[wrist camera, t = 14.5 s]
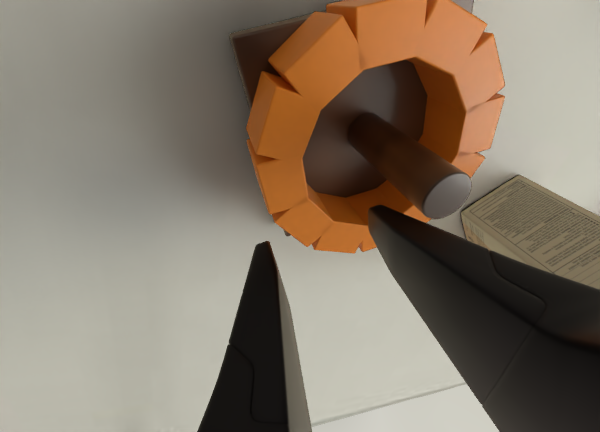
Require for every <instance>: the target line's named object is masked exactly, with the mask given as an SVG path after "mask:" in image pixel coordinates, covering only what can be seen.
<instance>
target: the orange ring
mask: <svg viewBox="0 0 600 432" xmlns="http://www.w3.org/2000/svg"><path fill="white" fill-rule="evenodd" d="M326 12H327V13H324V12H317V11H315V12H313V13H312V15H311V16H310V17H309V18H308V19H307V20H306V21H305V22H304V23H303V24H302V25H301V26H300V27H299V28H298V29H297V30H296V31H295V32H294V33H293V34H292V35H291V36H290V37H289V38H288V39H287V40H286V41H285V42H284V43H283V44H282V45H281V46H280V47H279V48H278V50H277V51H276V52H275V53H274V54H273V55H272V56H271V57H270V58H269V59H268V61H269V63H270V64H271V65H272V66H273V67H274V69H275V70H276V71H277V72H278V74H279V75H280V76H281V77H279V76H276V75H273V74H270V73H268V72H265V71H262V72H261V75H260V78H259V82H258V86H257V90H256V93H255V97H254V101H253V105H252V108H251V112H250V116H249V119H248V123H247V127H246V130H247V132H248V135H249V137H250V139H247V145H248V149H249V152H250V156H251V159H252V163H253V166H254V169H255V173H256V176H257V180H258V183H259V186H260V189H261V192H262V195H263V198H264V201H265V204H266V207H267V210H268V213H269V214H272V217H273V219H274V222H275V223H276V224H277V225H279V226H280V227H281V228H283V229H284V230H285V231H287V232H288V233H289V234H291V235H292V236H293V237H295V238H296V239H297V240H298V241H300V242H301V243H302V244H304V245H305V246H306V247H308V246H309V245H311V244H312V246H313V248H314V250H322V251H334V252H345V253H355V252H356V250H357V248H358V247H359V248H360V249H361V251H362V252H364V251H367V250H370V249H373V248H376V247H377V246H376V244H375V242H374V240H373V238H372V236H371V235H370V232H369V229H368V209H369V208H370V207H373V206H376V205H384V206H386V207H388V208H391V209H393V210H396V211H398V212H400V213H403V214H405V215H408V216H410V217H413V218H415V219H417V220H420V221H422V222H425V223H427V222H428V221H429V220H431V218H428V217H426V216H425V215H424V214H423V213H422V212H420V211H419V210H418V209H417V208H416V207H415V206H414V205H413V204H412V203H411V202H410V201H409V200H408V199H407V198H406V197H405V196H404V195H403V194H402V193H401V192H400V191H399V190H398V189H396V188H395V187H394V186H393V185H392V184H391V183H390V182H389V181H388V180H386V181H385V182H384V183H383V184H381V185H380V186H379V187H378V188H376V189H373V190H370V191H366V192H363V193H360V194H356V195H353V196H350V197H347V198H344V197H339V196H333V195H328V194H323V193H317V192H315V191H314V190H313V189H312V188H311V187H310V186H309V185H308V184H307V183H306V177H305V171H304V165H303V159H302V158H303V155H304V153H305V150H306V148H307V145H308V142H309V140H310V137H311V135H312V132H313V129H314V127H315V124H316V122H317V119H318V116H319V114H320V111H321V109H323V108H324V107H325V106H326V105H327V104H328V103H329V102H330V101H331V100H332V99H333V98H334V97H335V96H337V95H338V94H339V93H340V92H341V91H342V90H343V89H344V88H345V87H346V86H347V85H348V84H349V83H350V82H352V81H353V80H354V79H355V78H356V77H357V76H358V75H359V74H360V73H361V72H362V71H363V70H366V69H370V68H374V67H378V66H382V65H386V64H390V63H394V62H398V61H402V60H407V61H409V62H411V63H413V64H414V66H415V68H416V71H417V73H418V75H419V77H420V80H421V82H422V84H423V86H424V89H425V91H426V93H427V95H428V96H427V104H426V112H425V120H424V129H423V134H422V136H421V138H420V139H419V141H418V142H419V143H420V144H422V145H423V146H425V147H427V148H428V149H430V150H431V151H433V152H434V153H436V154H437V155H439V156H440V157H442V158H443V159H445V160H446V161H448V162H449V163H451V164H452V165H454V166H455V167H457V168H458V169H460V170H461V171H463V172H465V173H466V174H467V175H468V176H469V177H470V178H471V177H472V176H473V174H474V173H475V171H476V170H477V169H478V167H479V166H480V164H481V163H482V162H483V160H484V159H485V157H484V156H483V155H481V154H479V153H477V152H481V151H484V150H487V149H490V148H491V144H492V141H493V137H494V134H495V130H496V127H497V123H498V120H499V116H500V112H501V109H502V105H503V102H504V98H505V96H503V95H500V94H497V92H498V91H500V90H501V89H502V88H503V87H504V86H505V82H504V78H503V73H502V69H501V65H500V60H499V56H498V51H497V47H496V43H495V38H494V35H493V34H492V33H487V32H483V31H484V30H485V28H486V26H487V24H486V23H485V22H484V21H482V20H481V19H479V18H477V17H476V16H474V15H473V14H471V13H470V12H468V11H467V10H465V9H464V8H462V7H460V6H459V5H457V4H456V3H454V2H453V1H451V0H344V1H339V2H334V3H330V4H327V5H326Z"/></svg>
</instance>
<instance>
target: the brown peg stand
mask: <svg viewBox="0 0 600 432" xmlns="http://www.w3.org/2000/svg"><path fill="white" fill-rule="evenodd" d="M451 1H453V2H454V3H456V4H457V5H459V6H460V7H462V8H464V9H465V10H467V11H468V12H470V13H471V14H472V8H473V3H474V0H451ZM321 12H324V13H327V12H326V11H321ZM311 15H312V14H309V15H305V16H300V17H296V18H292V19H288V20H284V21H279V22H275V23H271V24H267V25H263V26H258V27H254V28H250V29H246V30H242V31H237V32H233V33H230V34H229V37H230V41H231V45H232V48H233V52H234V55H235V59H236V62H237V66H238V70H239V73H240V77H241V80H242V84H243V88H244V91H245V95H246V98H247V102H248V106H249V109H250V112H251V108H252V105H253V101H254V97H255V93H256V90H257V86H258V82H259V78H260V75H261V72H262V71H265V72H268V73H270V74H273V75H276V76H279V77H281V76H280V75H279V74H278V72H277V71H276V70H275V69H274V67H273V66H272V65H271V64H270V63H269V61H268V59H269V58H270V57H271V56H272V55H273V54H274V53H275V52H276V51H277V50H278V48H279V47H280V46H281V45H282V44H283V43H284V42H285V41H286V40H287V39H288V38H289V37H290V36H291V35H292V34H293V33H294V32H295V31H296V30H297V29H298V28H299V27H300V26H301V25H302V24H303V23H304V22H305V21H306V20H307V19H308V18H309V17H310V16H311ZM427 96H428V95H427V93H426V91H425V89H424V86H423V84H422V82H421V80H420V77H419V75H418V73H417V71H416V68H415V66H414V64H413V63H411V62H409V61H407V60H402V61H398V62H394V63H390V64H386V65H382V66H378V67H374V68H370V69H366V70H363V71H362V72H361V73H360V74H359V75H358V76H357V77H356V78H355V79H354V80H353V81H352V82H350V83H349V84H348V85H347V86H346V87H345V88H344V89H343V90H342V91H341V92H340V93H339V94H338V95H337V96H335V97H334V98H333V99H332V100H331V101H330V102H329V103H328V104H327V105H326V106H325V107H324V108H323V109H321V111H320V114H319V116H318V119H317V122H316V124H315V127H314V129H313V132H312V135H311V137H310V140H309V142H308V145H307V148H306V150H305V153H304V155H303V158H302V159H303V165H304V171H305V177H306V183H307V184H308V185H309V186H310V187H311V188H312V189H313V190H314V191H315V192H317V193H323V194H328V195H333V196H339V197H344V198H347V197H350V196H353V195H356V194H360V193H363V192H366V191H370V190H373V189H376V188H378V187H379V186H380V185H381V184H383V183H384V182H385V181H386V180H388V181H389V182H390V183H391V184H392V185H393V186H394V187H395V188H396V189H398V190H399V191H400V192H401V193H402V194H403V195H404V196H405V197H406V198H407V199H408V200H409V201H410V202H411V203H412V204H413V205H414V206H415V207H416V208H417V209H418V210H419V211H420V212H422V213H423V214H424V215H425V216H426V217H428V218H431V219H440V218H444V217H446V216H448V215H450V214H452V213H453V212H455V211H456V210H457V209H459V208H460V207H461V206H462V205H463V203H464V202H465V201H466V199H467V198H468V196H469V194H470V191H471V187H472V182H471V179H470V177H469V176H468V175H467V174H466V173H465V172H463V171H461V170H460V169H458V168H457V167H455V166H454V165H452V164H451V163H449V162H448V161H446V160H445V159H443V158H442V157H440V156H439V155H437V154H436V153H434V152H433V151H431V150H430V149H428V148H427V147H425V146H423V145H422V144H420V143H419V142H418V141H419V139H420V138H421V136H422V134H423V129H424V120H425V112H426V104H427ZM284 232H285V235H286V236H290V235H291V234H289V233H288V232H287V231H285V230H284Z"/></svg>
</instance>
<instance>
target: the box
mask: <svg viewBox="0 0 600 432" xmlns="http://www.w3.org/2000/svg"><path fill="white" fill-rule="evenodd" d="M461 216H462V222H463V227H464V231H465V234H466V238H467V240H468V241H470V242H473V243H475V244H478V245H480V246H482V247H485V248H487V249H488V250H489V251H490V250H492V251H495V252H497V253H500V254H502V255H504V256H507V257H509V258H512V259H515V260H517V261H520V262H522V263H525V264H527V265H530V266H533V267H536V268H539V269H541V270H544V271H547V272H550V273H553V274H556V275H559V276H562V277H565V278H568V279H571V280H573V281H576V282H579V283H582V284H585V285H588V286H591V287H594V288H597V289H600V216H598V215H596V214H594V213H592V212H590V211H588V210H586V209H584V208H582V207H580V206H578V205H576V204H574V203H573V202H571V201H569V200H567V199H565V198H563V197H561V196H559V195H557V194H555V193H554V192H552V191H550V190H548V189H546V188H544V187H542V186H540V185H538V184H537V183H535V182H533V181H531V180H529V179H527V178H525V177H523V176H521V175H518V176H516V177H515V178H513V179H512V180H510V181H508V182H507V183H505V184H503V185H502V186H500V187H499V188H497V189H496V190H494V191H493V192H491V193H490V194H488V195H487V196H485V197H483V198H482V199H480V200H478V201H477V202H476V203H474V204H473V205H472V206H470V207H468V208H467V209H465V210H464V211H462V212H461Z"/></svg>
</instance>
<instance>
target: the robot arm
mask: <svg viewBox="0 0 600 432" xmlns="http://www.w3.org/2000/svg"><path fill="white" fill-rule="evenodd" d="M368 229H369V232H370V235H371V236H372V238H373V240H374V242H375V244H376V246H377V248H378V250H379V252H380V254H381V255H382V257H383V259H384V261H385V263H386V265H387V267H388V269H389V270H390V272H391V274H392V275H393V277H394V278H395V280H396V281H397V283H398V284H399V286H400V287H401V288H402V290H403V291H404V293H405V294H406V296H407V297H408V299H409V300H410V302H411V303H412V305H413V306H414V307H415V309H416V310H417V312H418V313H419V315H420V316H421V318H422V319H423V321H424V322H425V323H426V325H427V326H428V328H429V329H430V331H431V332H432V334H433V335H434V337H435V338H436V339H437V341H438V342H439V344H440V345H441V347H442V348H443V350H444V351H445V353H446V354H447V355H448V357H449V358H450V360H451V361H452V363H453V364H454V366H455V367H456V369H457V370H458V371H459V373H460V374H461V376H462V377H463V379H464V380H465V382H466V383H467V385H468V386H469V387H470V389H471V390H472V392H473V393H474V395H475V396H476V398H477V399H478V401H479V402H480V403H481V404H482V405H483V408H484V410H485V411H486V412H487V414H488V415H489V417H490V418H491V420H492V421H493V423H494V424H495V426H496V427H497V428H498V430H499V431H500V432H600V289H597V288H594V287H591V286H588V285H585V284H582V283H579V282H576V281H573V280H571V279H568V278H565V277H562V276H559V275H556V274H553V273H550V272H547V271H544V270H541V269H539V268H536V267H533V266H530V265H527V264H525V263H522V262H520V261H517V260H515V259H512V258H509V257H507V256H504V255H502V254H500V253H497V252H495V251H492V250H490V251H489V250H488V249H487V248H485V247H482V246H480V245H478V244H475V243H473V242H470V241H468V240H466V239H463V238H461V237H458V236H456V235H454V234H451V233H449V232H446V231H444V230H441V229H439V228H437V227H434V226H432V225H429V224H427V223H425V222H422V221H420V220H417V219H415V218H413V217H410V216H408V215H405V214H403V213H400V212H398V211H396V210H393V209H391V208H388V207H386V206H384V205H376V206H373V207H370V208H369V209H368ZM197 432H312V428H311V423H310V417H309V411H308V406H307V400H306V394H305V389H304V383H303V377H302V372H301V366H300V360H299V355H298V349H297V343H296V338H295V332H294V326H293V321H292V315H291V310H290V306H289V302H288V299H287V295H286V292H285V289H284V286H283V283H282V279H281V276H280V273H279V270H278V267H277V263H276V260H275V257H274V254H273V251H272V248H271V245H270V242H269V241H265V242H262V243H259V244H257V245H256V247H255V250H254V253H253V257H252V261H251V264H250V268H249V271H248V275H247V279H246V282H245V286H244V289H243V293H242V296H241V300H240V304H239V307H238V311H237V314H236V318H235V321H234V325H233V329H232V332H231V336H230V339H229V345H228V346H227V350H226V353H225V357H224V360H223V363H222V367H221V370H220V373H219V376H218V379H217V382H216V385H215V388H214V390H213V393H212V396H211V398H210V401H209V404H208V406H207V409H206V411H205V414H204V416H203V419H202V421H201V424H200V426H199V429H198V431H197Z"/></svg>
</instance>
